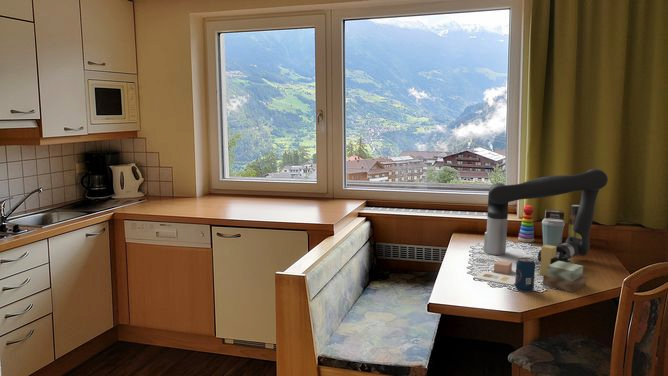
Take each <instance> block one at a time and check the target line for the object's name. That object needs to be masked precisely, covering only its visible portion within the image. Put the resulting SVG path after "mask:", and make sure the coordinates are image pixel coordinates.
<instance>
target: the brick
mask: <svg viewBox="0 0 668 376" xmlns="http://www.w3.org/2000/svg"><path fill="white" fill-rule="evenodd" d="M512 271H513V262H512V261H506V260H497V261H495V262H494V263H493V273H498V274H504V275H510V273H511V272H512Z"/></svg>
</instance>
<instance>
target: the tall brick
mask: <svg viewBox="0 0 668 376" xmlns="http://www.w3.org/2000/svg"><path fill="white" fill-rule="evenodd" d="M540 248H541V249H540V250H541V262H539V263H540V265H539V275H542V276H544V275H546V274H547V271H548V265H550V261H551V259H552V258H554V257H555V258H556V248H557V247H556V246H551V245H544V246H543V245H542V246H541V247H540Z"/></svg>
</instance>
